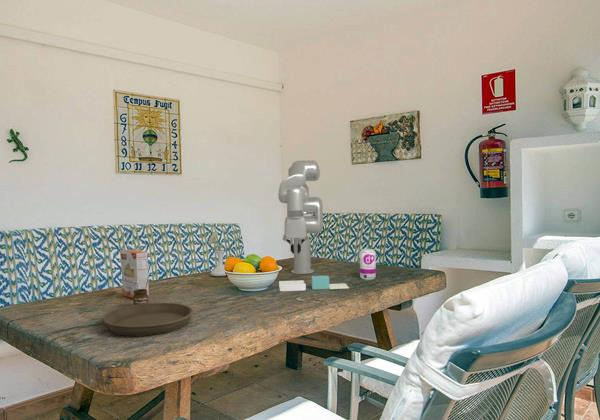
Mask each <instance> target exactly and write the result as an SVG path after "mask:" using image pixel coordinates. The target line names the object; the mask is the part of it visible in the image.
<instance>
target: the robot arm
mask: <svg viewBox="0 0 600 420" xmlns="http://www.w3.org/2000/svg"><path fill="white" fill-rule="evenodd" d="M320 171H321V169H320V166H319V164H318V162H317V161H316V160H313V159H312V160H311V159H310V160H309V159H308V160H296V161H294V162H293V163H292V164H291V166H290V167H289V168H288V170H287V173H288V177H286V178H284V179H283V180H282V181H281V183H280V184H279V188H278V194H277V195H278V200H279V202H280V203H282V204H286V213H287V214H286V217H285V219H284V233H283V236H282V240H283V241H284V242H287V243H288V244H289V245H290V252H291V253H292V254H293V269H291V274H295V275H309V274H312V273H314V271H315V270H314V269H312V268H311V267H312V263H311V258H312V257H311V255H312V254H311V240H310V238H309V235H308V234H320V233H322V232H323V228H324V218H323V217H324V212H323V201H322V199H321V197H318V196H310V188H309V186H308V184H306V182H315V181H318V180H319V178H320V177H321V175H320V174H321V172H320ZM304 215H305V216H304ZM307 215H313V216H307Z"/></svg>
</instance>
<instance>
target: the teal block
mask: <svg viewBox="0 0 600 420" xmlns="http://www.w3.org/2000/svg"><path fill="white" fill-rule="evenodd" d="M310 279H311V281H310V282H311V285H310V286H311V289H312V290H328V289H329V284H330V277H329V275H311V278H310ZM329 290H330V289H329Z"/></svg>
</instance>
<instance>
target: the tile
mask: <svg viewBox="0 0 600 420" xmlns="http://www.w3.org/2000/svg"><path fill="white" fill-rule="evenodd" d="M338 289H340V290H343V289H345V290H346V289H350V287H349V286H348V284H347V283H345V282H344V283H341V282H340V283H329V290H338Z"/></svg>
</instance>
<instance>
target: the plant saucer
mask: <svg viewBox="0 0 600 420" xmlns="http://www.w3.org/2000/svg"><path fill="white" fill-rule="evenodd" d="M193 315H194V309H193V308H192V307H191V306H189V305H187V304H183V303H175V302H149V303H146V304H138V305H133V304H132V305H127V306H122V307H118V308H116V309H114V310H110V311H108V312H107V313H105V314H104V315H103V316H102V318H101V320H102V323H103V324H104V326H105V327H107V328H108V329H109V331H111V332H112V333H113V334H117V335H120V336H127V335H128V336H129V337H131V336H132V337H137V336H138V337H139V336H141V337H143V336H142V335H145V336H152V335H153V336H154V335H158V334H159V335H160V334H165V333H169V332H173V331H176V330H178V329H181V328H183V327H184V326H186V324H187V323H188V321H189V320H190V319H192V317H193Z"/></svg>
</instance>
